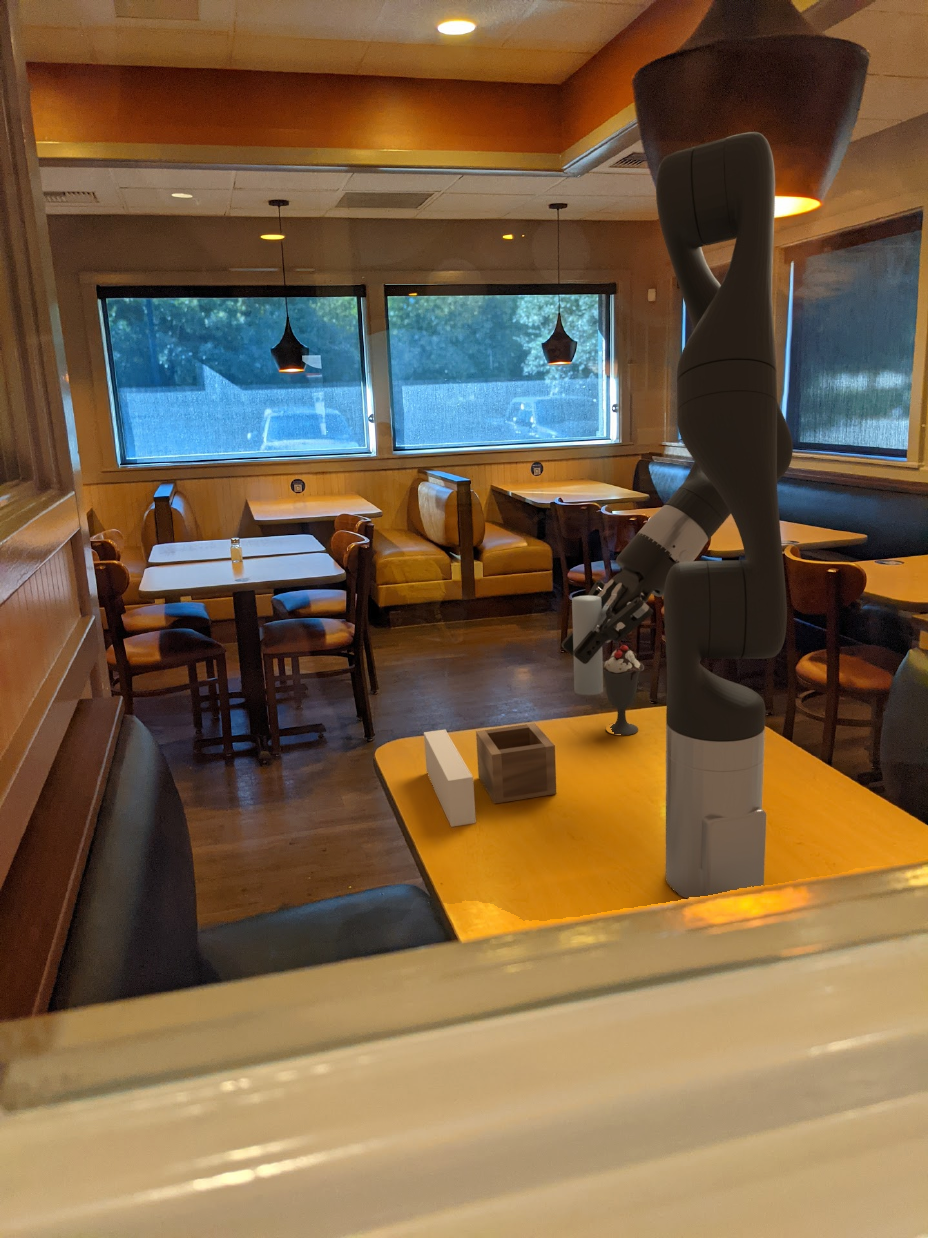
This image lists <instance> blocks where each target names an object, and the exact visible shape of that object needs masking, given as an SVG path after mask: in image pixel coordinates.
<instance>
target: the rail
mask: <svg viewBox="0 0 928 1238" xmlns="http://www.w3.org/2000/svg"><path fill="white" fill-rule="evenodd" d="M423 741H424V752H425V753H424V755H425V768H426V769H425V770H426V773H427V772H428V775H429V777H430V779H431V781H430V783H431V782H432V784H431V786H432V785H433V786H432V788H433V787H434V788H433V790H434V792H435V795H436V796H437V799H438V800H439V803H440V805H441V808H442V809H443V812H444V814H445V816H446V819H447V820H448V823H449V826H450V827H451V828H453V827H458V826H465V825H471V824H472V825H473V824H476V823H477V821H476V809H475V808H476V803H475V790H474V789H475V787H474V776H473V774H472V772H471V771H470V769H469V768H468V766H467V764H466V763H465V761H464V759H463V757H462V755H461V754H460V752H459V750H458V749H457V747H456V746H455V744H454V742H453V740H452V738H451V737H450V735H449V733H448V732H447V729H437V730H431V731H424V732H423ZM428 775H427V776H428ZM429 777H428V778H429ZM430 779H429V780H430Z"/></svg>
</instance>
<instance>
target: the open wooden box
mask: <svg viewBox="0 0 928 1238" xmlns="http://www.w3.org/2000/svg"><path fill="white" fill-rule="evenodd" d="M475 737H476V751H477V752H476V754H477V756H476V757H477V774H478V775H477V776H478V778H479V780H480V782H481V783H482V785H483V787H484V788H485V790H486V792H487V794H488V795H489V797H490V799H491V801H492V802H493V804H501V803H507V802H513V801H519V800H526V799H531V798H532V799H533V798H538V797H544V796H550V795H556V794H557V773H556V771H557V770H556V766H557V765H556V745H555V744H554V743H553V742H552V741H551V740H550V738H549V737H548V736H547V735H546V734H545V732H543V730H542V729H541V728H540V727H539V726H538V724H537V723H535V722H534V723H533V722H532V723H527V724H525V723H524V724H518V725H512V726H506V727H497V728H491V729H483V730H476V731H475Z"/></svg>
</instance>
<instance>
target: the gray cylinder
mask: <svg viewBox="0 0 928 1238" xmlns="http://www.w3.org/2000/svg"><path fill="white" fill-rule="evenodd" d="M571 602H572V603H571V609H572V611H571V612H572V616H571V617H572V630H573V651H574V650H575V648H576V647H577V646H578V645H579V644H580V643H581V641H582V640H583V639H584V638H585V637H586V636H587V634H588V633H589V632H590V631H592V632H594V631H593V628H594V626H595V625H596V623H597V622H598V621H599V619H600V618H601V610H602V606H601V597H598V596H587V595H579V596H574V597H572V598H571ZM603 662H604V661H603V646H602V647H601V648H600V649H599V650H598V651H597V653H596V654H595V655H594V656H593V657H592V658H591V660H590V661H589V662H588V663H587V664H583V663H582V662H581V661H579V660H578V659H577V658H576V657H575V656H574V655H573V679H574V681H573V684H574V685H573V686H574V687H573V688H574V690H573V691H574V693H576V694H577V695H580V696H581V695H582V696H595V695H599V694H602V693H603V691H604V675H603Z"/></svg>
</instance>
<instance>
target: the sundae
mask: <svg viewBox="0 0 928 1238" xmlns="http://www.w3.org/2000/svg"><path fill="white" fill-rule="evenodd" d="M619 645H621V646H620V647H619ZM616 646H617V647H616V649H615V650H614V651H613V652H612V653H611V655H610V657H609V658H608V659H607V660H605V661H602V662H603V680H604V685H605V691H606V692H605V693H606V695H607V701H608V702H609V703H610V704H611V705H612V706H613V707H615V708H616V709H617V718H616V721H615V722H614V723H615V724H613V723H612V724H613V725H612V726H611V727H610V728H612V729H611V730H612V732H614V734H621V735H624V736H623V737H626V736H625V735H628V736H632V735H634V734H636V732H637V733H638V731H639V727H638V726H636V725H635V724H633V723H630V724H629V722H628V721H627V717H626V710H627V708H629V707H630V706H632V704H633V703H634V702H635V699H636V696H637V689H638V681H639V675H640V673H642V672H643V671H644V670H645V666H644V664H643V662H640V661H639V660H637V653H636V652H634V651H632V650H631V649H629V647H628V646H627V645H625V644H623V643H622V640H620V641H619V642H617V645H616Z"/></svg>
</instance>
